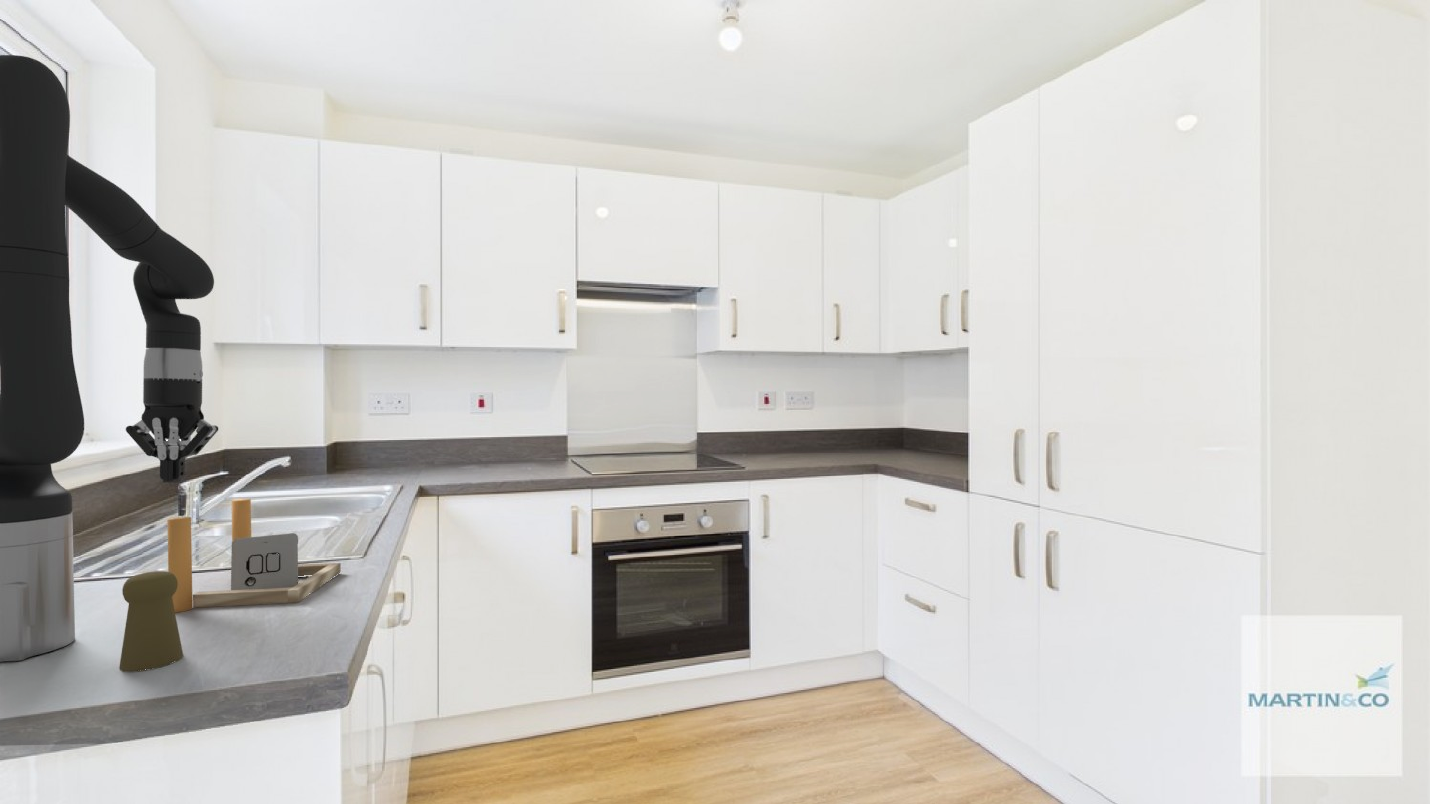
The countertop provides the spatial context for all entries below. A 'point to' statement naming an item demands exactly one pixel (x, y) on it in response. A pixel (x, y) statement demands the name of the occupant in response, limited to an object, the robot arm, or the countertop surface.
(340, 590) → the countertop surface
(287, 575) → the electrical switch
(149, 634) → the cork
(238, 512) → the post right
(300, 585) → the wooden square frame
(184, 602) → the post left
